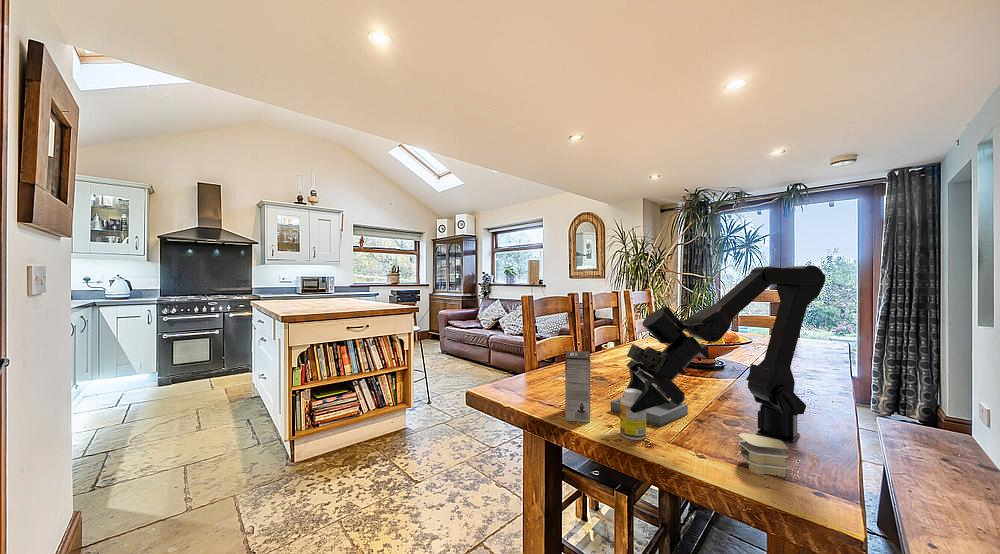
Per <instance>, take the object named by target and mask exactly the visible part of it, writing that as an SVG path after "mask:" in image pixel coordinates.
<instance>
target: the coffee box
mask: <svg viewBox="0 0 1000 554" xmlns="http://www.w3.org/2000/svg"><path fill="white" fill-rule="evenodd" d="M564 359H565V361H564V362H565V363H564V364H565V366H564V374H565V376H564V378H565V379H564V381H565V382H564V383H565V384H564V387H565V388H564V390H565V391H564V392H565V393H564V394H565V396H564V399H565V400H564V401H565V403H564V405H565V407H564V409H565V411H564V412H565V413H564V414H565V416H564V418H565V421H566V422H579V423H580V422H581V423H591V391H592V390H591V379H592V378H591V376H592V375H591V367H592V365H591V352H590V351H587V350H586V351H585V350H584V351H583V350H582V351H581V350H566V351H565V358H564Z"/></svg>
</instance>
